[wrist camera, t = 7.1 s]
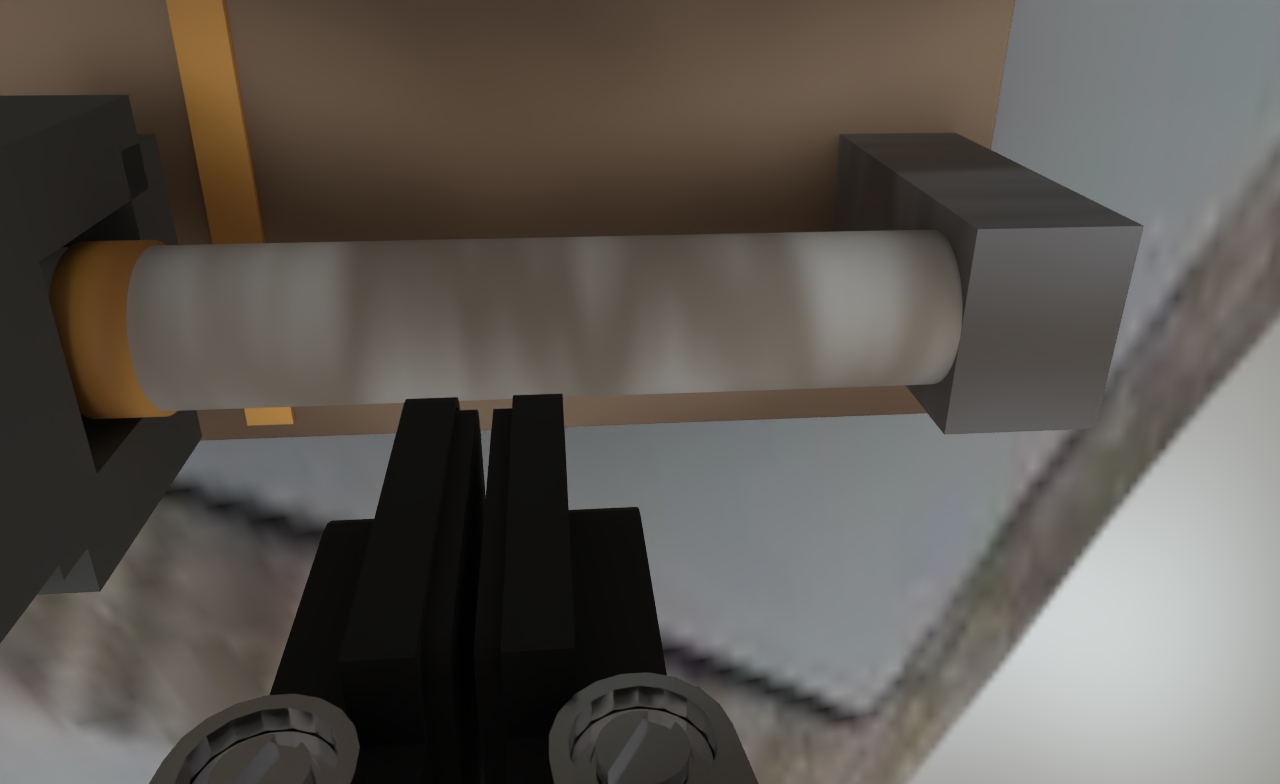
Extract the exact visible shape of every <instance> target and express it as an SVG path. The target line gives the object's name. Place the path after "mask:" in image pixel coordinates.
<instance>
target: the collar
mask: <svg viewBox="0 0 1280 784" xmlns="http://www.w3.org/2000/svg"><path fill="white" fill-rule="evenodd" d="M120 240H158V241H161V242H163V243H164V244H166V245H178V240H177V236H176V231H175V226H174V221H173V216H172V212H171V207H170V202H169V197H168V192H167V187H166V183H165V178H164V173H163V168H162V163H161V159H160V154H159V149H158V144H157V139H156V134H137V132H136V127H135V122H134V118H133V113H132V109H131V104H130V99H129V95H7V96H0V643H1V642H2V640H3V639H4V638H5V636H6V635H7V634H8V632H9V631H10V630H11V628H12V627H13V626H14V624H15V623H16V622H17V620H18V619H19V618H20V616H21V615H22V614H23V612H24V611H25V610H26V608H27V607H28V606H29V604H30V603H31V602H32V600H33V599H34V598H35V596H36V595H38V594H58V593H78V592H98V591H101V589H102V588H103V586H104V585H105V583H106V582H107V580H108V579H109V577H110V576H111V574H112V573H113V571H114V570H115V568H116V567H117V565H118V564H119V562H120V561H121V559H122V558H123V556H124V555H125V553H126V552H127V550H128V549H129V547H130V546H131V544H132V543H133V541H134V539H135V538H136V536H137V535H138V533H139V532H140V530H141V529H142V527H143V526H144V524H145V523H146V521H147V520H148V518H149V517H150V515H151V514H152V512H153V511H154V509H155V508H156V506H157V505H158V503H159V502H160V500H161V499H162V497H163V496H164V494H165V492H166V491H167V489H168V488H169V486H170V485H171V483H172V482H173V480H174V479H175V477H176V476H177V474H178V473H179V471H180V470H181V468H182V467H183V465H184V464H185V462H186V461H187V459H188V458H189V456H190V455H191V453H192V452H193V450H194V449H195V447H196V446H197V444H198V442H199V441H200V439H201V438H202V433H201V428H200V424H199V419H198V414H197V410H183V411H177V412H176V413H174V414H173V415H171V416H167V417H139V418H111V419H91V418H88V417H86V416H84V415H82V414H80V411H79V407H78V404H77V400H76V396H75V393H74V389H73V385H72V382H71V378H70V374H69V371H68V367H67V364H66V360H65V356H64V353H63V349H62V345H61V342H60V338H59V334H58V331H57V327H56V324H55V320H54V316H53V313H52V309H51V305H50V302H49V298H48V294H47V291H46V287H45V284H44V280H43V276H42V273H41V269H40V265H39V262H40V261H41V260H43V259H44V258H46V257H47V256H49V255H50V254H52V253H53V252H55V251H56V250H58V249H59V248H61V247H70V246H71V245H73V244H75V243H77V242H82V241H120Z"/></svg>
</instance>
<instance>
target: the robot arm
mask: <svg viewBox="0 0 1280 784" xmlns="http://www.w3.org/2000/svg"><path fill="white" fill-rule="evenodd" d="M149 784H758V781H757V779H756V777H755V774H754V772H753V770H752V767H751V765H750V763H749V760H748V758H747V756H746V754H745V751H744V749H743V747H742V744H741V742H740V740H739V737H738V735H737V733H736V730H735V728H734V726H733V724H732V722H731V720H730V719H729V717H728V716H727V714H726V713H725V711H724V710H723V708H722V707H721V705H720V704H719V703H718V702H717V701H716V700H714V699H713V698H712V697H711V696H709V695H708V694H707V693H706V692H704V691H703V690H702V689H701V688H699V687H697V686H695V685H692V684H690V683H688V682H685V681H683V680H681V679H679V678H676V677H672V676H667V674H666V668H665V662H664V656H663V650H662V643H661V637H660V631H659V625H658V619H657V613H656V607H655V601H654V595H653V589H652V583H651V576H650V570H649V564H648V558H647V552H646V546H645V540H644V534H643V528H642V522H641V516H640V512H639V509H638V507H627V508H605V509H583V510H568V491H567V471H566V452H565V432H564V412H563V394H534V395H513V400H512V408H506V409H493V418H492V430H491V442H490V454H489V466H488V478H487V490H486V498H485V485H484V471H483V458H482V445H481V432H480V420H479V412H478V410H460V404H459V400H458V397H447V398H418V399H406V400H405V402H404V405H403V409H402V413H401V417H400V421H399V425H398V429H397V433H396V436H395V440H394V444H393V448H392V452H391V456H390V460H389V464H388V468H387V472H386V475H385V479H384V483H383V487H382V491H381V495H380V499H379V503H378V507H377V511H376V515H375V518H374V519H361V520H338V521H331V522H329V523H328V524H327V526H326V528H325V530H324V532H323V535H322V538H321V541H320V544H319V547H318V550H317V553H316V556H315V559H314V562H313V565H312V568H311V571H310V574H309V577H308V580H307V583H306V586H305V589H304V592H303V595H302V598H301V601H300V604H299V607H298V610H297V613H296V617H295V620H294V623H293V626H292V629H291V632H290V635H289V638H288V641H287V644H286V647H285V650H284V653H283V656H282V659H281V662H280V665H279V668H278V671H277V674H276V677H275V680H274V683H273V686H272V689H271V692H270V695H266V696H262V697H259V698H255V699H252V700H248V701H244V702H241V703H237V704H235V705H233V706H231V707H229V708H227V709H225V710H223V711H221V712H219V713H217V714H215V715H213V716H211V717H209V718H207V719H205V720H204V721H203V722H202V723H200V724H199V725H198V726H196V727H195V728H194V729H193V730H191V731H190V732H189V733H187V734H186V735H185V736H183V737H182V738H181V739H180V741H179V742H178V743H177V744H176V746H175V747H174V748H173V749H172V750H171V752H170V753H169V754H168V755H167V757H166V758H165V759H164V760H163V762H162V763H161V765H160V767H159V768H158V770H157V771H156V773H155V775H154V776H153V778H152V780H151V781H150V783H149Z"/></svg>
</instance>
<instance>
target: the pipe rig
mask: <svg viewBox="0 0 1280 784" xmlns="http://www.w3.org/2000/svg"><path fill="white" fill-rule="evenodd" d="M1014 3H1015V0H0V96H7V95H129V99H130V104H131V109H132V113H133V118H134V122H135V127H136V132H137V134H156V139H157V144H158V149H159V154H160V159H161V163H162V168H163V173H164V178H165V183H166V187H167V192H168V197H169V202H170V207H171V212H172V216H173V221H174V226H175V231H176V236H177V240H178V245H166V244H164V243H163V242H161V241H158V240H120V241H82V242H77V243H75V244H73V245H71V246H70V247H61V248H59V249H58V250H56V251H55V252H53V253H52V254H50V255H49V256H47V257H46V258H44V259H43V260H41V261H40V262H39V265H40V269H41V273H42V276H43V280H44V284H45V287H46V291H47V294H48V298H49V302H50V305H51V309H52V313H53V316H54V320H55V324H56V327H57V331H58V334H59V338H60V342H61V345H62V349H63V353H64V356H65V360H66V364H67V367H68V371H69V374H70V378H71V382H72V385H73V389H74V393H75V396H76V400H77V404H78V407H79V411H80V414H82V415H84V416H86V417H88V418H91V419H111V418H139V417H167V416H171V415H173V414H174V413H176V412H177V411H183V410H197V414H198V419H199V424H200V428H201V433H202V438H201V439H200V440H225V439H251V438H278V437H304V436H331V435H358V434H384V433H397V429H398V425H399V421H400V417H401V413H402V409H403V405H404V402H405V400H406V399H418V398H447V397H458V400H459V404H460V410H478V412H479V420H480V430H491V429H492V418H493V409H506V408H512V400H513V395H534V394H563V412H564V427H571V426H598V425H624V424H651V423H678V422H704V421H731V420H757V419H784V418H811V417H837V416H864V415H891V414H917V413H928V414H929V416H930V417H931V418H932V419H933V421H934V422H935V423H936V424H937V426H938V427H939V428H940V429H941V431H942V432H943V433H944V434H967V433H992V432H1018V431H1043V430H1068V429H1093V428H1095V427H1096V423H1097V419H1098V414H1099V410H1100V406H1101V402H1102V398H1103V393H1104V389H1105V385H1106V381H1107V377H1108V373H1109V368H1110V364H1111V360H1112V356H1113V352H1114V348H1115V343H1116V339H1117V335H1118V331H1119V327H1120V322H1121V318H1122V314H1123V310H1124V306H1125V302H1126V297H1127V293H1128V289H1129V285H1130V281H1131V276H1132V272H1133V268H1134V264H1135V260H1136V256H1137V251H1138V247H1139V243H1140V239H1141V235H1142V231H1143V225H1141V224H1139V223H1137V222H1135V221H1133V220H1131V219H1129V218H1127V217H1125V216H1123V215H1121V214H1119V213H1117V212H1114V211H1112V210H1110V209H1108V208H1106V207H1104V206H1102V205H1100V204H1098V203H1096V202H1094V201H1092V200H1090V199H1088V198H1086V197H1084V196H1082V195H1080V194H1078V193H1076V192H1074V191H1072V190H1070V189H1068V188H1066V187H1064V186H1062V185H1060V184H1058V183H1056V182H1054V181H1052V180H1050V179H1048V178H1046V177H1044V176H1042V175H1040V174H1038V173H1036V172H1034V171H1032V170H1030V169H1028V168H1026V167H1024V166H1022V165H1020V164H1018V163H1016V162H1014V161H1012V160H1010V159H1008V158H1006V157H1004V156H1002V155H1000V154H998V153H996V152H994V151H992V150H991V144H992V138H993V132H994V126H995V120H996V113H997V107H998V101H999V95H1000V89H1001V83H1002V77H1003V70H1004V64H1005V58H1006V52H1007V46H1008V40H1009V34H1010V28H1011V21H1012V15H1013V9H1014Z"/></svg>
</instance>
